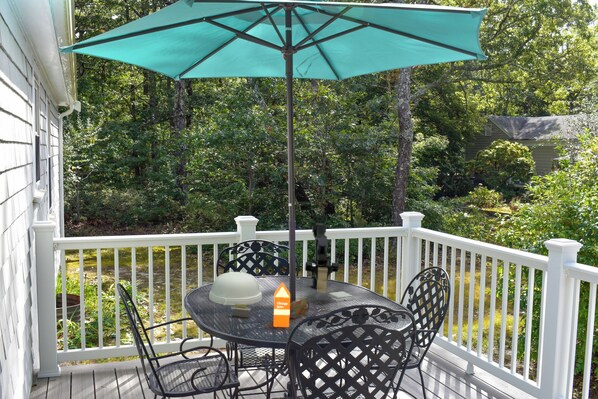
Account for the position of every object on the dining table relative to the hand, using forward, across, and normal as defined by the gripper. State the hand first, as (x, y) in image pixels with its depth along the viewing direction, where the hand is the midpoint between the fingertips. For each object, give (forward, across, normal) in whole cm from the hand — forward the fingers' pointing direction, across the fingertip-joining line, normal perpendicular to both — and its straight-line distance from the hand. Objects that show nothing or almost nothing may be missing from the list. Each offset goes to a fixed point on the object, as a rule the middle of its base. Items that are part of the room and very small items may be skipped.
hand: (322, 279), depth 313 cm
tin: (+27, -13, -8) cm, 31 cm away
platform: (+29, -42, -10) cm, 52 cm away
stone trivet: (+2, +12, +18) cm, 21 cm away
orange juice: (+36, -22, -17) cm, 46 cm away
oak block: (+4, 0, +6) cm, 7 cm away
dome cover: (+5, -48, +14) cm, 50 cm away
